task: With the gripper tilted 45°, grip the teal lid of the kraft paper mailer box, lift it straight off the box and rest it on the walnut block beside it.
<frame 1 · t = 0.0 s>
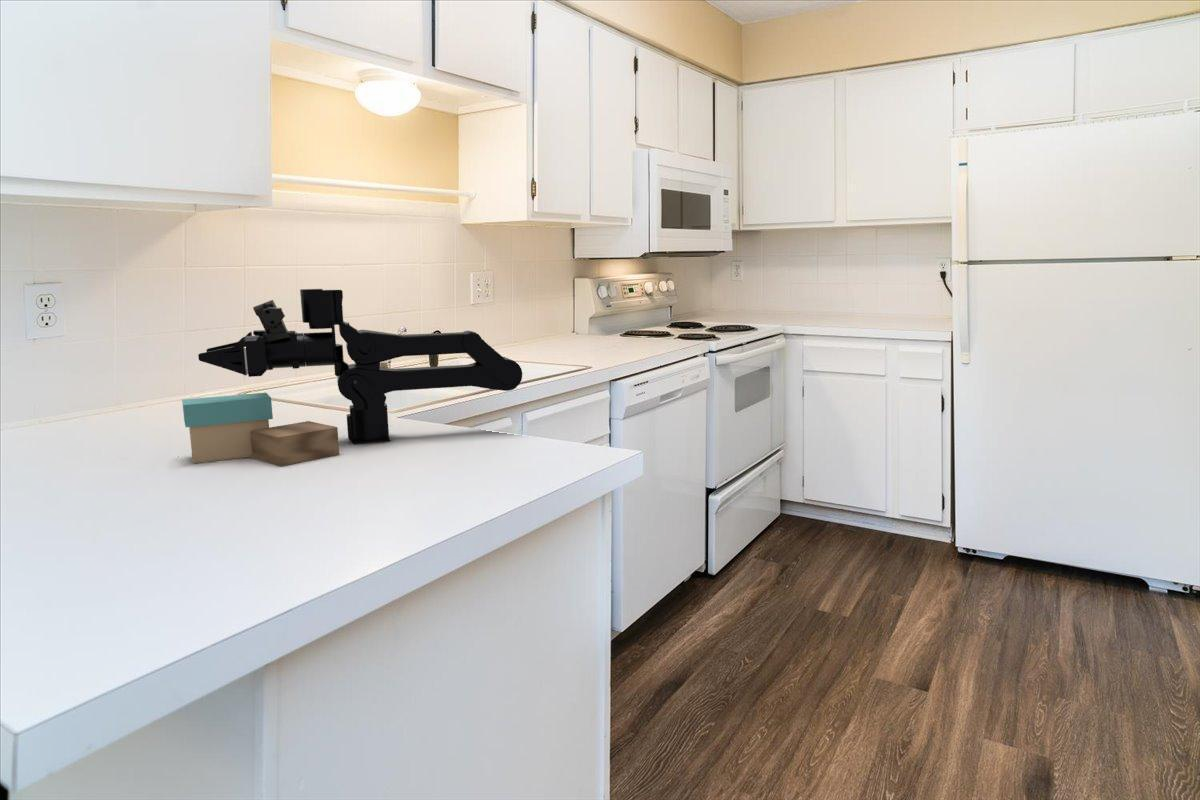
hand: (202, 354, 128), 16 cm above the counter, tool horizontal, fingers open, 9 cm apart
mailer box: (232, 455, 128), on the counter
walnut block: (296, 456, 127), on the counter
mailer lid: (228, 419, 127), point 6 cm above the counter, touching mailer box
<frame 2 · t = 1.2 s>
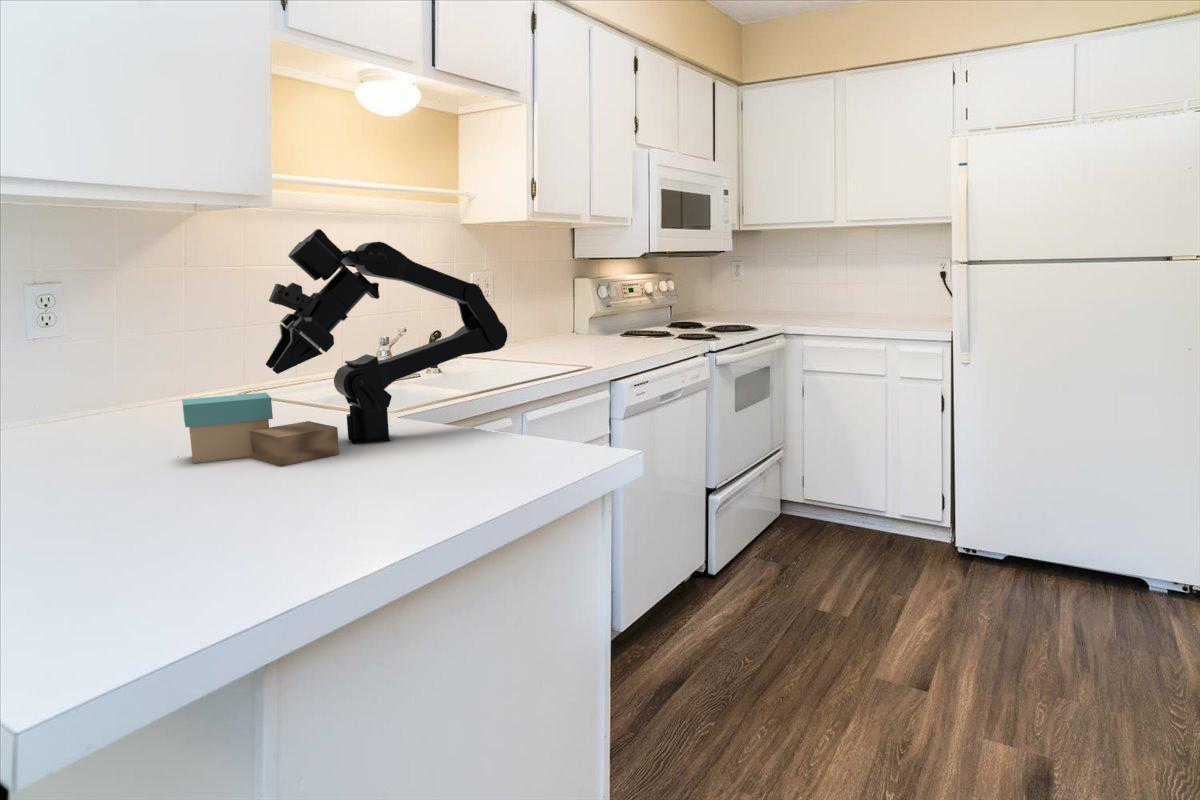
hand: (271, 369, 130), 14 cm above the counter, tool tilted 45°, fingers open, 9 cm apart
nothing on the counter moved.
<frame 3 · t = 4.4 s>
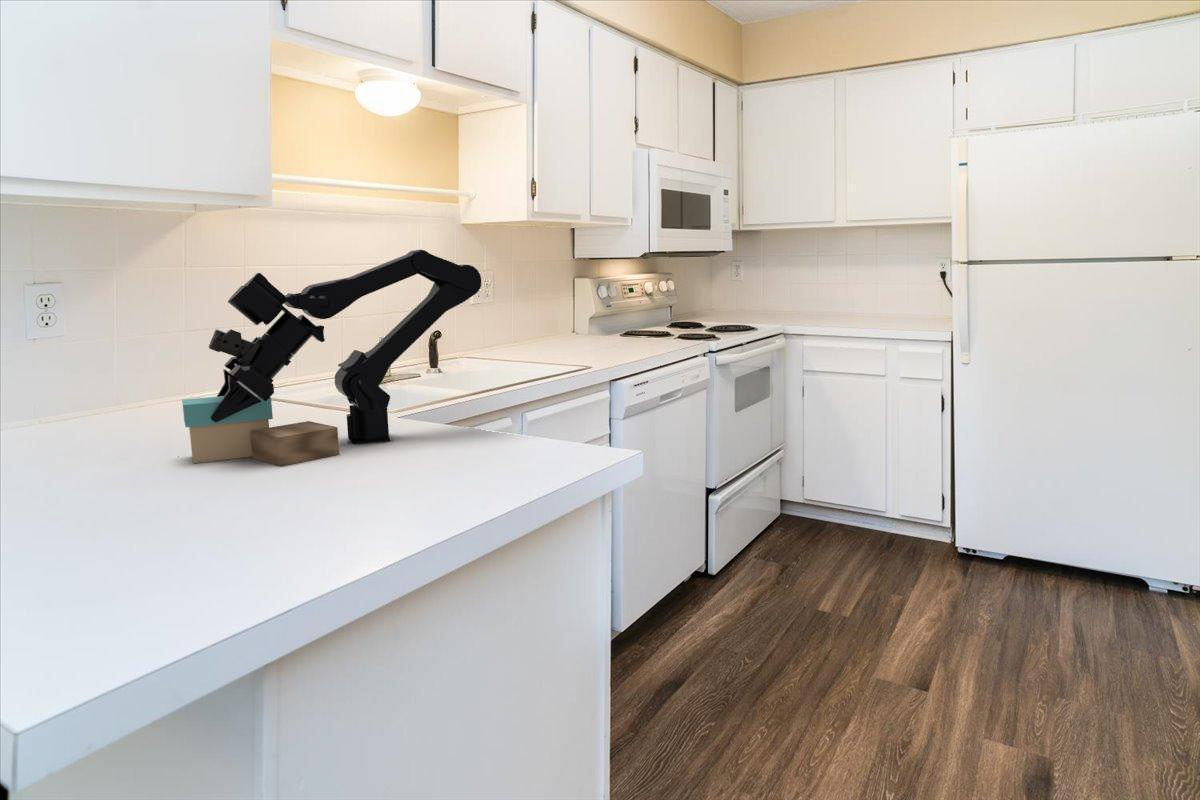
hand: (211, 417, 126), 7 cm above the counter, tool tilted 45°, fingers closed on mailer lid, 7 cm apart
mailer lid: (228, 419, 127), point 6 cm above the counter, touching gripper, mailer box
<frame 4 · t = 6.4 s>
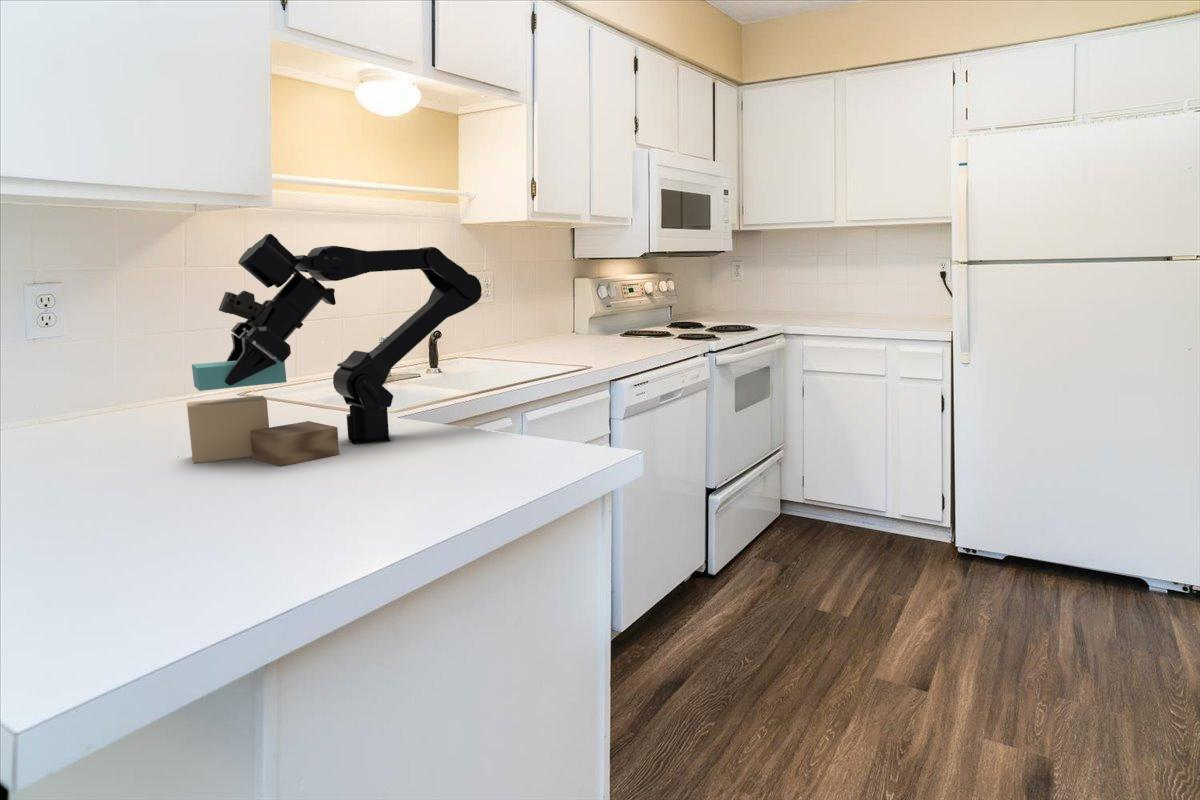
hand: (223, 381, 124), 13 cm above the counter, tool tilted 45°, fingers closed on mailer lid, 7 cm apart
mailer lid: (240, 384, 125), point 12 cm above the counter, touching gripper
when the fingers open (7 cm above the counter, at t = 8.8 s): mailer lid drops 1 cm, resting on walnut block.
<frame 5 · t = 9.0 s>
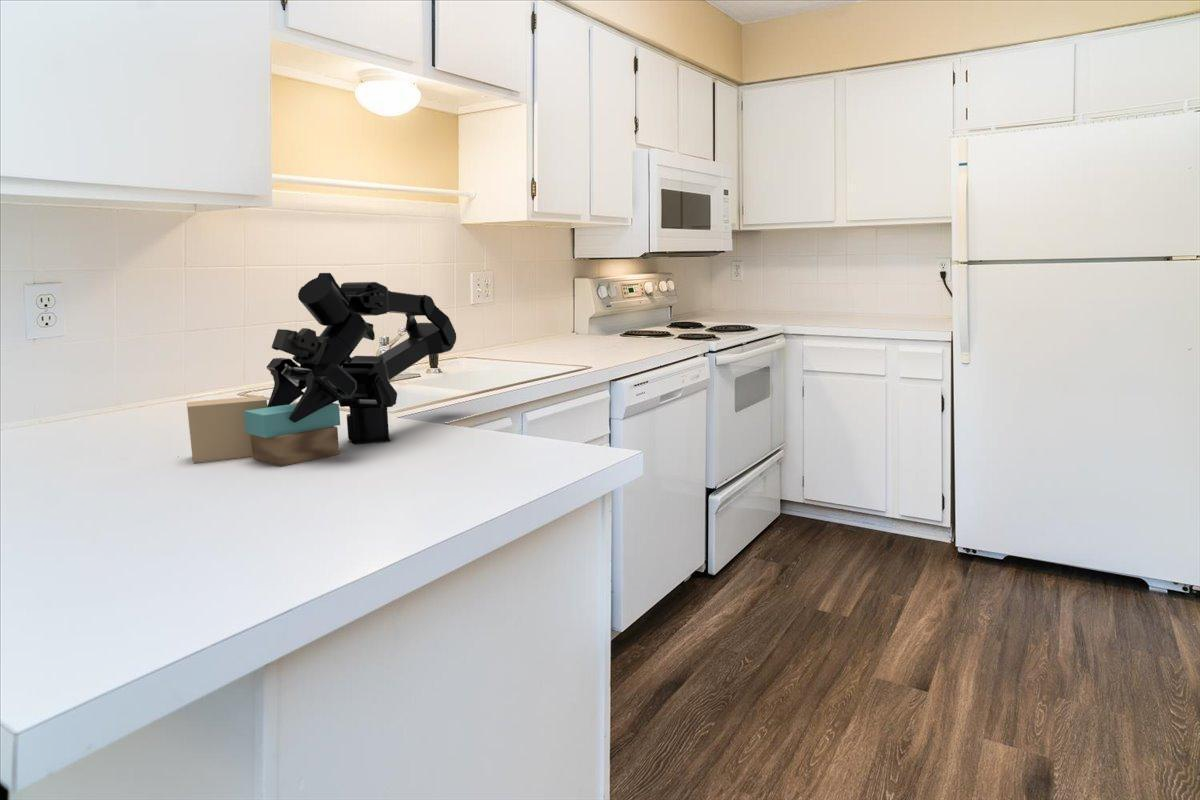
hand: (279, 418, 124), 7 cm above the counter, tool tilted 45°, fingers open, 7 cm apart
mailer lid: (293, 428, 126), point 4 cm above the counter, touching walnut block
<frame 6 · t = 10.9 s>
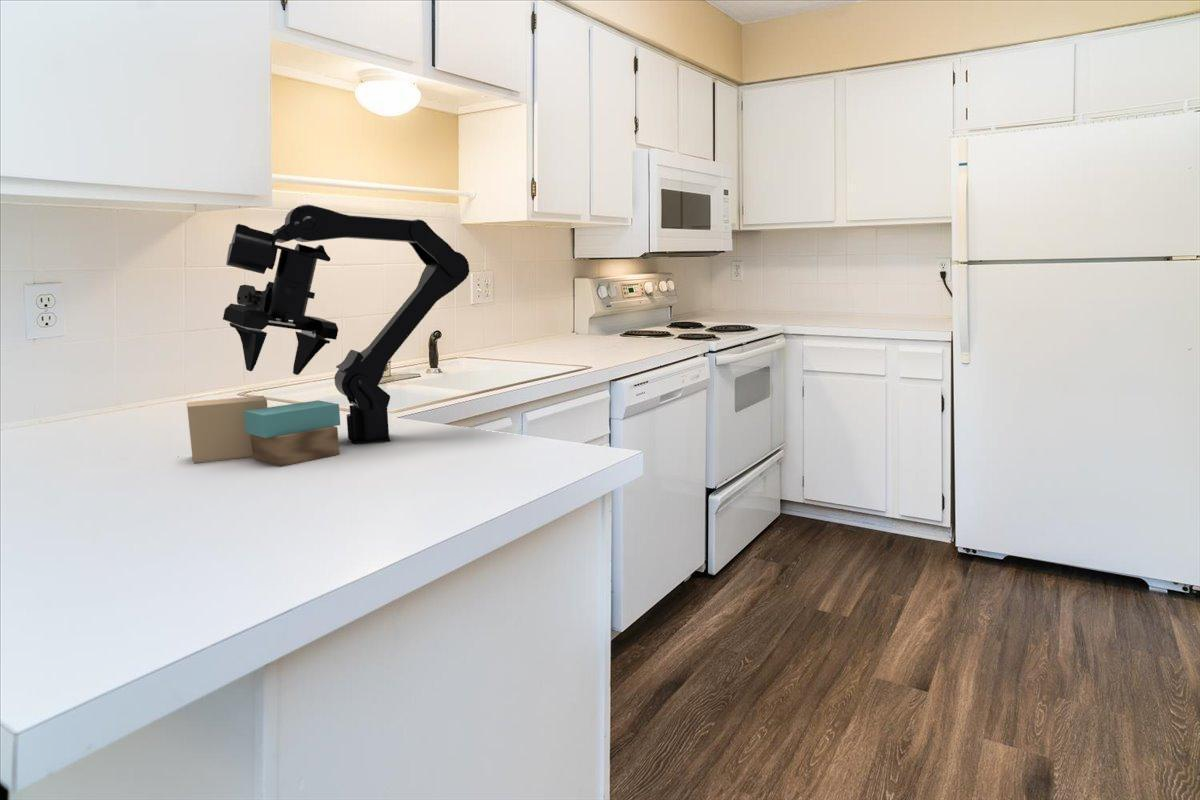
hand: (273, 372, 131), 13 cm above the counter, tool tilted 15°, fingers open, 9 cm apart
nothing on the counter moved.
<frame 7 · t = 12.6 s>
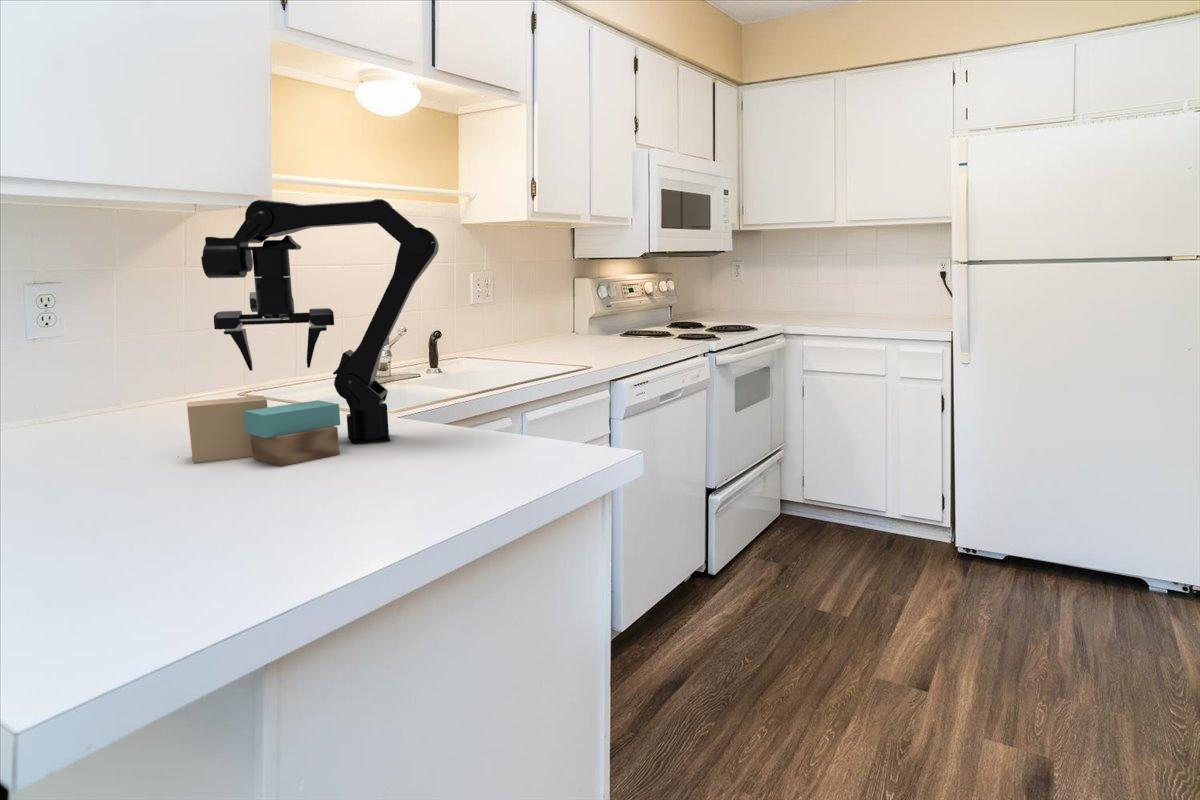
hand: (280, 368, 135), 13 cm above the counter, tool pointing down, fingers open, 9 cm apart
nothing on the counter moved.
at the end: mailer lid 0.0 cm off-centre on the walnut block, point 4.5 cm above the walnut block's base; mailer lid tilted 0°; the gripper is holding nothing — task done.
